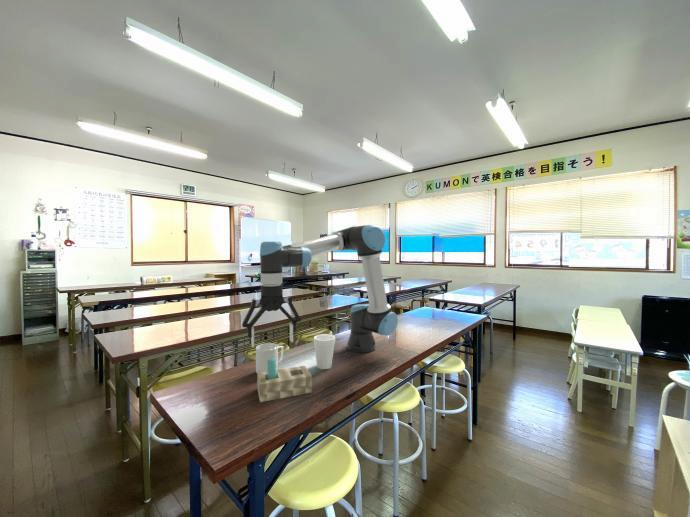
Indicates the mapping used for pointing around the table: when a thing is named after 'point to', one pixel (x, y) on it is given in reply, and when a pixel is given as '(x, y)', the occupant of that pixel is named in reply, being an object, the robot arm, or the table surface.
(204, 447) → the table surface
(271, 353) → the mug
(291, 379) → the hole block
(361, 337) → the robot arm
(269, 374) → the peg
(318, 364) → the foam cup
